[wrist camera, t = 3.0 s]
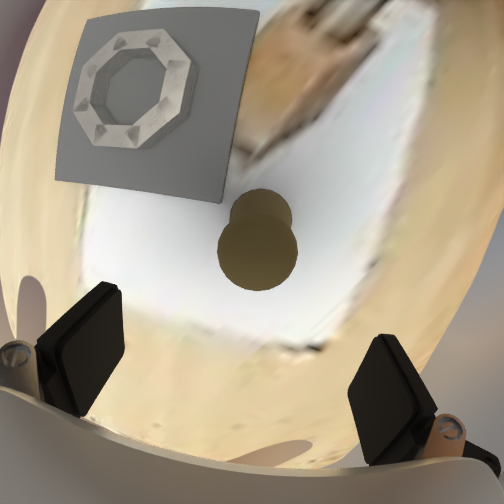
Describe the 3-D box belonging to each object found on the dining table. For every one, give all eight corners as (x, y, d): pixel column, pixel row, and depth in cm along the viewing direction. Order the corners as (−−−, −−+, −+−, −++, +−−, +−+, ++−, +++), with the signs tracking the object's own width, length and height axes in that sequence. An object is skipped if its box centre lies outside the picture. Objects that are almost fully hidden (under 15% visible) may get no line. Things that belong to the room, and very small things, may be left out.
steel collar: (206, 40, 21) (199, 28, 18) (182, 152, 24) (172, 152, 22) (105, 44, 20) (91, 37, 18) (84, 144, 24) (67, 144, 21)
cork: (254, 261, 29) (246, 321, 18) (216, 213, 27) (186, 250, 17) (304, 226, 27) (326, 271, 17) (267, 176, 26) (267, 189, 15)
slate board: (259, 15, 20) (259, 10, 19) (221, 202, 27) (219, 203, 26) (91, 22, 20) (87, 19, 19) (59, 179, 27) (54, 180, 26)
